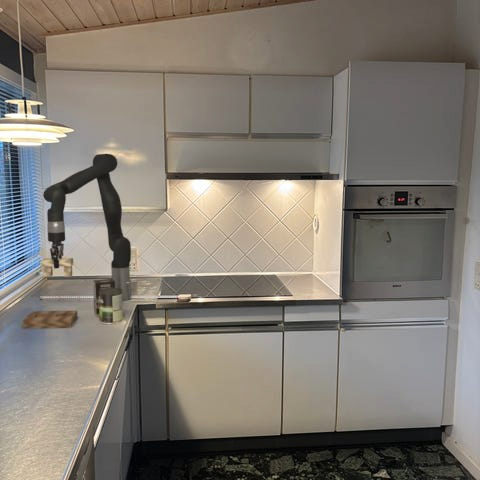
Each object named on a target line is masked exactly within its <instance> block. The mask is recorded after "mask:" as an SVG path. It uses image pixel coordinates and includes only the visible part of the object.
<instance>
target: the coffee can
mask: <svg viewBox="0 0 480 480" xmlns="http://www.w3.org/2000/svg"><path fill="white" fill-rule="evenodd" d="M99 309H100V316H99V323H101V324H103V325H117V324H120V323H122V322H123V320H124V319H123V316H124V315H123V301H122V289H119V288H105V289H101V290H99Z"/></svg>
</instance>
